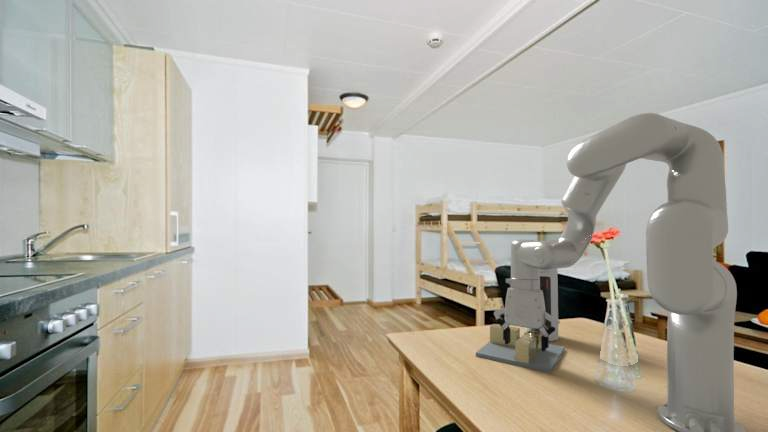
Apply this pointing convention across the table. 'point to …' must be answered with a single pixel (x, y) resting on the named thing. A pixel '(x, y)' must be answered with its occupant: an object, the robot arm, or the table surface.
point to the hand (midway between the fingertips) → (525, 346)
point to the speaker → (549, 298)
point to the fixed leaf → (497, 336)
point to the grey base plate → (507, 355)
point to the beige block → (527, 346)
